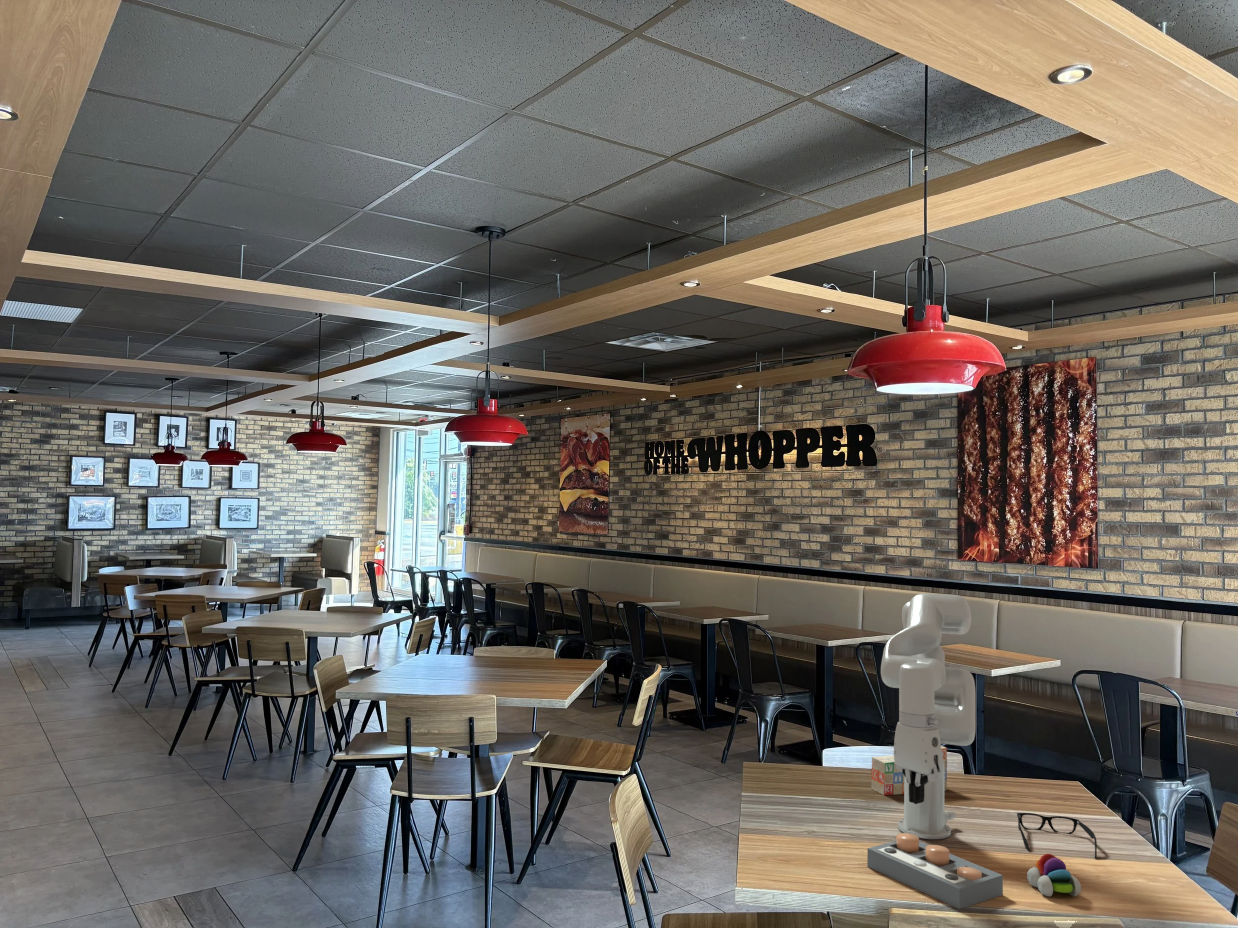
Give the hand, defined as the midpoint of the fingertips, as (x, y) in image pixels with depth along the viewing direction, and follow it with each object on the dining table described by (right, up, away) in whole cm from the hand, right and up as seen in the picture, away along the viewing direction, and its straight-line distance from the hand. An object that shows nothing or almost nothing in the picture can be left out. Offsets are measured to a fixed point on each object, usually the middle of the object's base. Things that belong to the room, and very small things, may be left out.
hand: (916, 801), depth 195 cm
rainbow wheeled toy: (+25, -15, -11) cm, 31 cm away
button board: (+1, -14, -7) cm, 16 cm away
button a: (-2, -11, +1) cm, 12 cm away
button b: (+2, -11, -6) cm, 13 cm away
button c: (+7, -13, -13) cm, 19 cm away
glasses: (+40, -17, +17) cm, 46 cm away
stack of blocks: (+17, -19, +56) cm, 62 cm away
